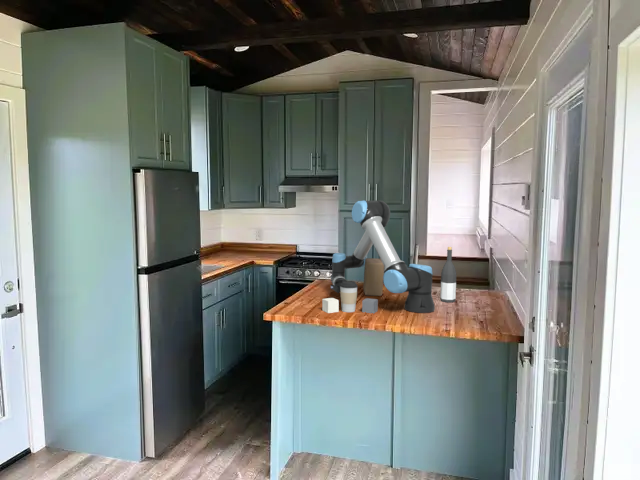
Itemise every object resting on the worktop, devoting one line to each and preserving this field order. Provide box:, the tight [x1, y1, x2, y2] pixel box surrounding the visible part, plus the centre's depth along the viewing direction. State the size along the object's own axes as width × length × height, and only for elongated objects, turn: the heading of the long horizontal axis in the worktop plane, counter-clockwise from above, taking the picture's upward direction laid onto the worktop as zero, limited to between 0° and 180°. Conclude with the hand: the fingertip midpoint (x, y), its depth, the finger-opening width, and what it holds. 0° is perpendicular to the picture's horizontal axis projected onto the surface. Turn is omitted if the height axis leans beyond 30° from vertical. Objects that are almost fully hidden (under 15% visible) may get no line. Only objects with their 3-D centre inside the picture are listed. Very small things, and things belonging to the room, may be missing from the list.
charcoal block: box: [361, 297, 379, 314], centre depth 240 cm, size 6×6×6 cm
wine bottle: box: [439, 246, 457, 304], centre depth 263 cm, size 8×8×30 cm
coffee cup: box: [339, 280, 359, 313], centre depth 241 cm, size 9×9×15 cm
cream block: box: [321, 297, 340, 314], centre depth 241 cm, size 6×6×6 cm
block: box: [362, 257, 385, 297], centre depth 277 cm, size 10×10×20 cm
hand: (346, 294), depth 246 cm, fingers closed
